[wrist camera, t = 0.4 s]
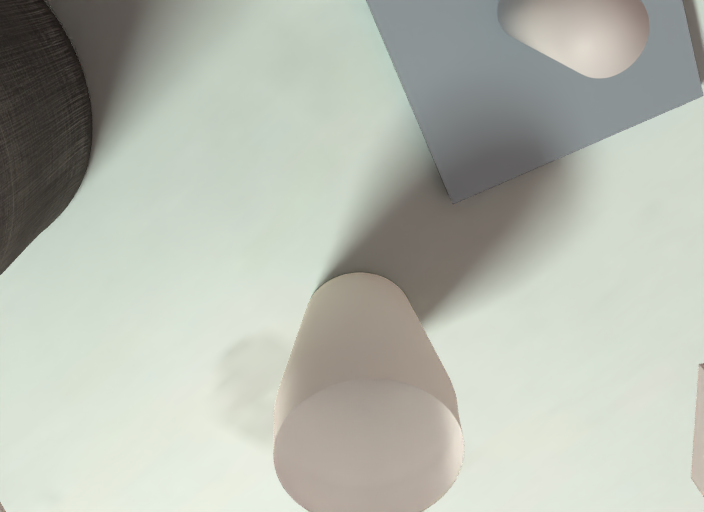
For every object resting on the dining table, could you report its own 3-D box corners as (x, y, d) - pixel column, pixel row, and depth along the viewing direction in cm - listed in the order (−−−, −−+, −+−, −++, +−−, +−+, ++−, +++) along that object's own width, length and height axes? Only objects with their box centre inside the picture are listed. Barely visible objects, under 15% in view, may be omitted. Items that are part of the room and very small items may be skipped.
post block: (327, -92, 31) (326, -107, 21) (617, -245, 28) (771, -343, 19) (449, 197, 37) (493, 291, 27) (693, 91, 35) (838, 152, 25)
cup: (388, 226, 38) (412, 341, 27) (455, 340, 41) (500, 481, 31) (256, 296, 40) (229, 430, 29) (332, 399, 43) (332, 553, 32)
